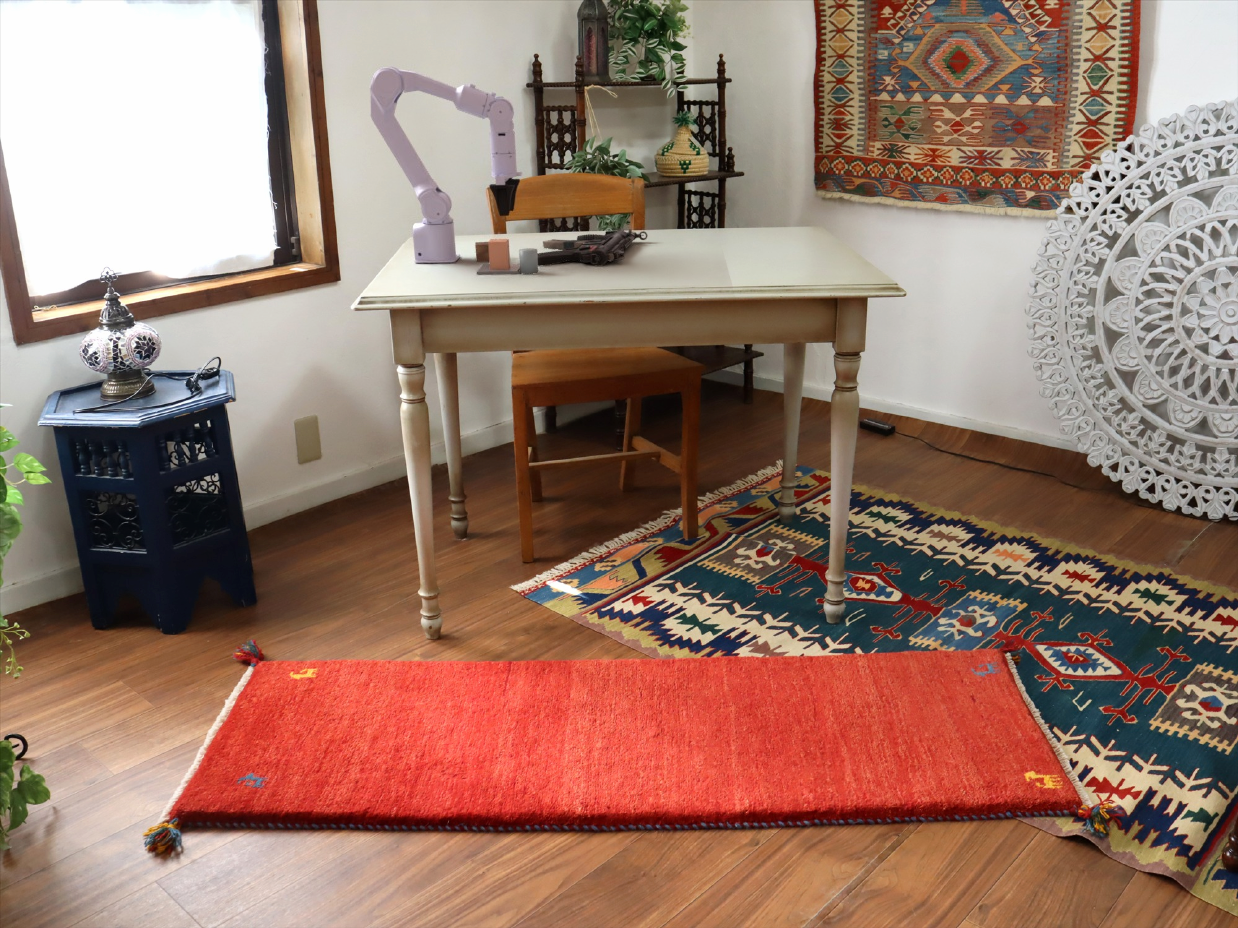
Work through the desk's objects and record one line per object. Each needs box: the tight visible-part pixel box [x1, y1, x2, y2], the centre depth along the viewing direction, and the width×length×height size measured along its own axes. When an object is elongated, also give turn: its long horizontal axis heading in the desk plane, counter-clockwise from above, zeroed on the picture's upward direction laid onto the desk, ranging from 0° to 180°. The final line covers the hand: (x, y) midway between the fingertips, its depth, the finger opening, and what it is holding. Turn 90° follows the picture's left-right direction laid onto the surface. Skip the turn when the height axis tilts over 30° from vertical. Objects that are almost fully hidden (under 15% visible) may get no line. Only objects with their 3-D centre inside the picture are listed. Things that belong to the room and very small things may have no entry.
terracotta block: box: [487, 238, 511, 269], centre depth 236 cm, size 4×4×6 cm
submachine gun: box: [537, 228, 648, 267], centre depth 254 cm, size 33×4×25 cm
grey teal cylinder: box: [518, 247, 539, 275], centre depth 234 cm, size 4×4×5 cm
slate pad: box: [476, 262, 520, 275], centre depth 237 cm, size 9×9×1 cm
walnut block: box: [474, 241, 489, 263], centre depth 249 cm, size 5×4×4 cm
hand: (506, 213), depth 248 cm, fingers open, 7 cm apart
